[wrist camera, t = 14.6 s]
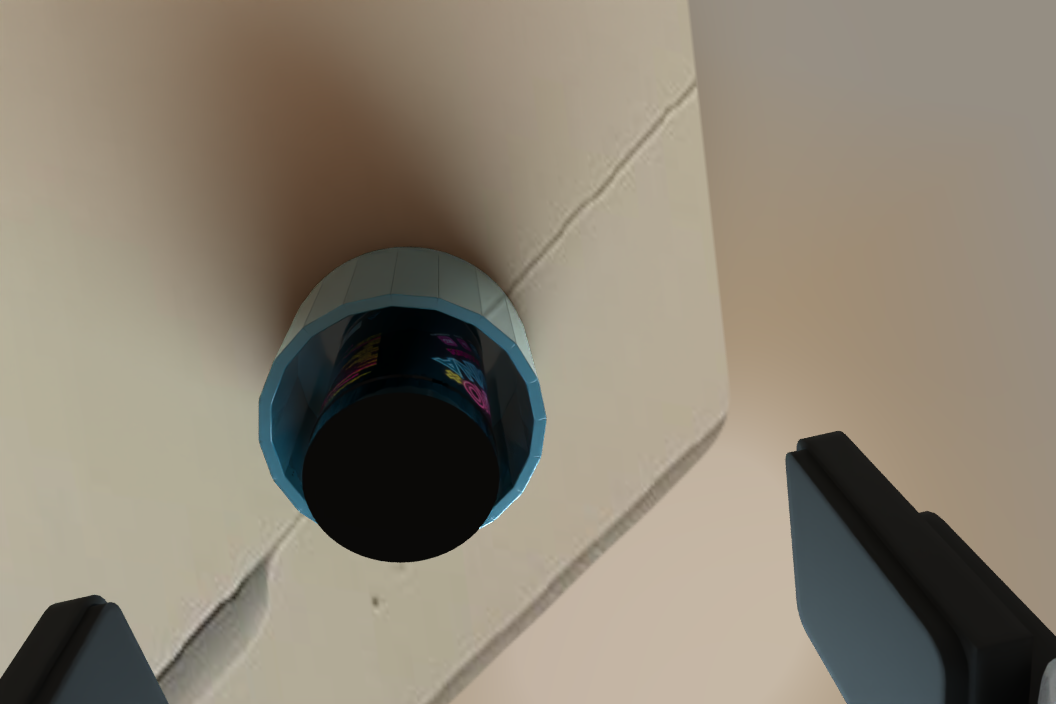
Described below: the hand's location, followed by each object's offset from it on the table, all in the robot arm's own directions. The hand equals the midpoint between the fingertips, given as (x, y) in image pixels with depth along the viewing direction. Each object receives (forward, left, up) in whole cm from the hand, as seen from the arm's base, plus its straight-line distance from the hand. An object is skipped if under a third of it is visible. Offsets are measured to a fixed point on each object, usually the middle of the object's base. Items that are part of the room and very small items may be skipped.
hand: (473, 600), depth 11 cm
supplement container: (+3, +7, -26) cm, 27 cm away
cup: (+3, +7, -27) cm, 28 cm away
